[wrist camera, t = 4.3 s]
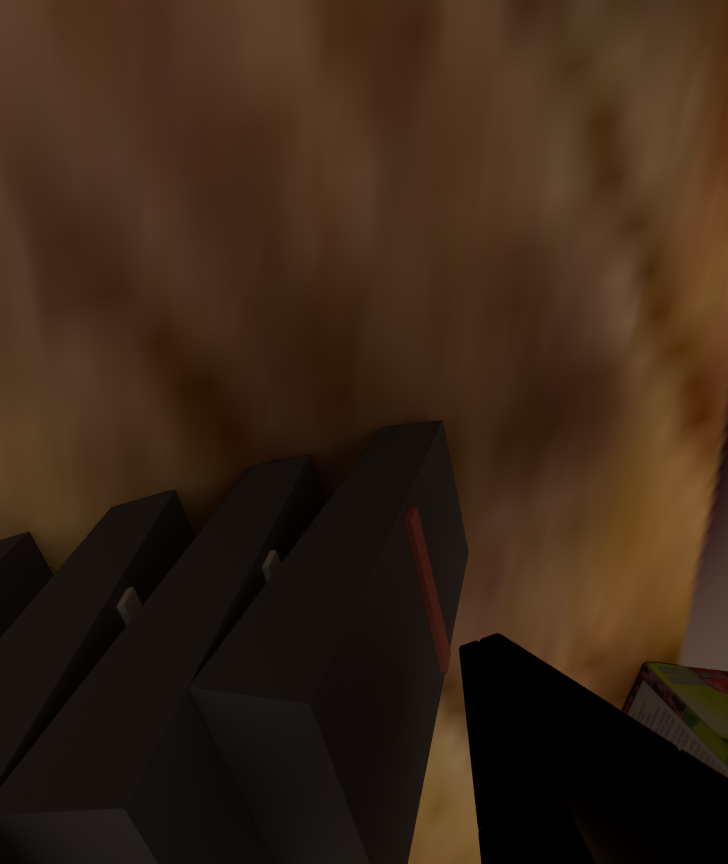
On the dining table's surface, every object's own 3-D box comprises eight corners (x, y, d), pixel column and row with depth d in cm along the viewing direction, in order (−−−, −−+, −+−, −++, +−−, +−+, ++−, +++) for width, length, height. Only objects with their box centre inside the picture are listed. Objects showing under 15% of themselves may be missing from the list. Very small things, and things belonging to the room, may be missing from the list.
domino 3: (447, 419, 14) (321, 705, 6) (472, 552, 16) (403, 933, 7) (383, 427, 15) (188, 687, 7) (413, 552, 17) (288, 895, 8)
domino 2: (314, 453, 14) (135, 808, 5) (353, 583, 16) (270, 1032, 7) (251, 466, 15) (-23, 816, 5) (295, 591, 16) (140, 1027, 7)
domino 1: (179, 488, 14) (-40, 860, 5) (231, 613, 16) (139, 1076, 7) (111, 507, 14) (-244, 925, 5) (170, 631, 16) (-12, 1131, 6)
